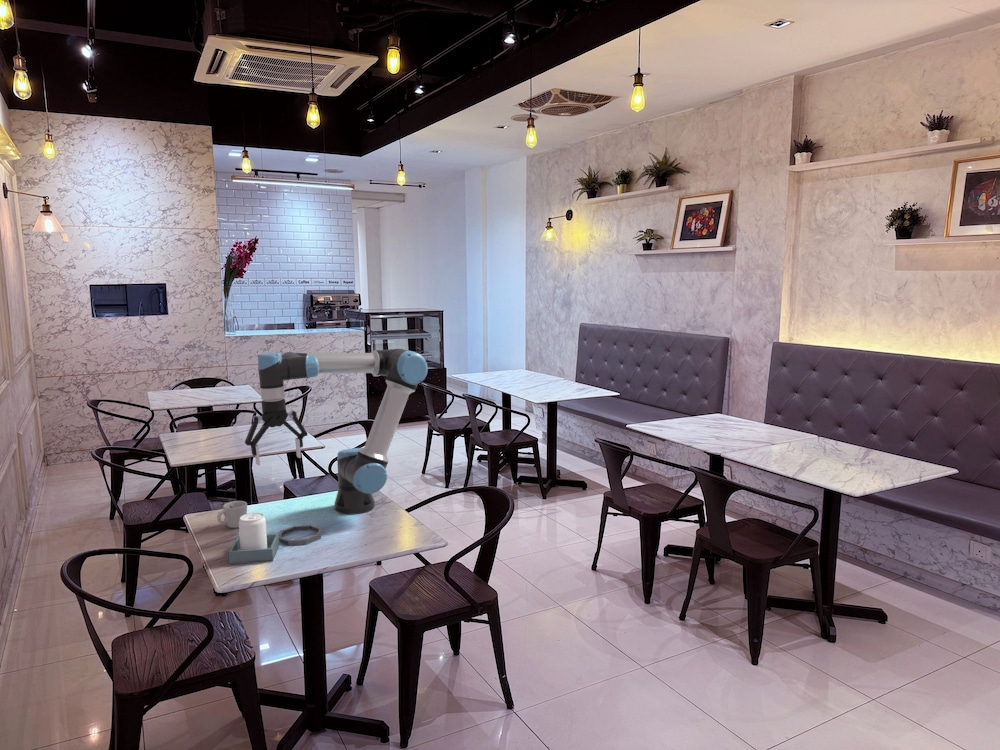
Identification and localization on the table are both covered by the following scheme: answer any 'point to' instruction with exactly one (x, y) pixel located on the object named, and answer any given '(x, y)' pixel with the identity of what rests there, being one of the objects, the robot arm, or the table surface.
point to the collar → (300, 541)
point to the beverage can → (252, 531)
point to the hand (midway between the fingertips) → (278, 460)
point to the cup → (232, 513)
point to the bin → (254, 551)
